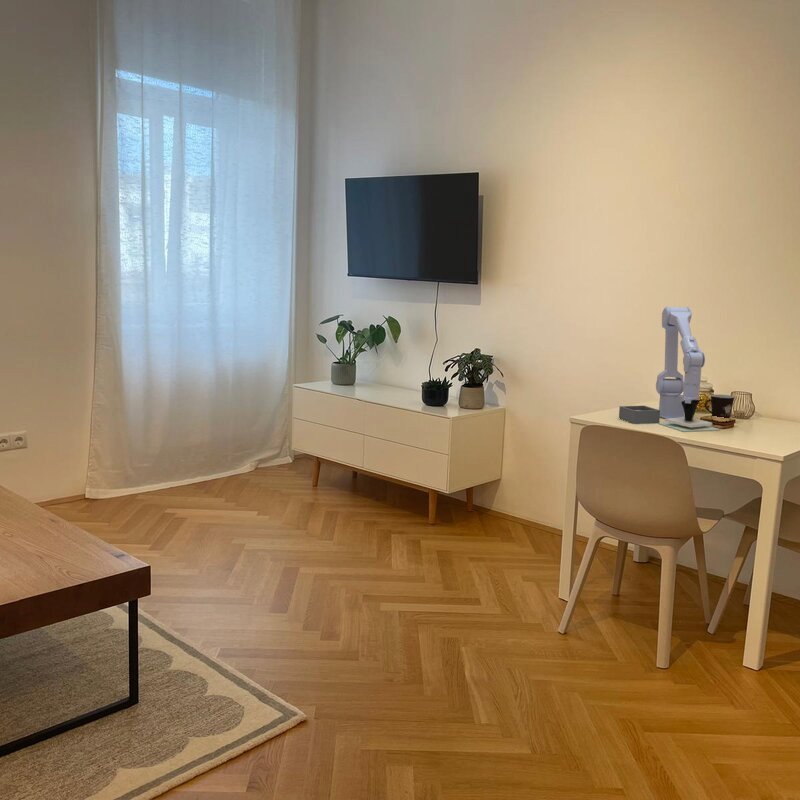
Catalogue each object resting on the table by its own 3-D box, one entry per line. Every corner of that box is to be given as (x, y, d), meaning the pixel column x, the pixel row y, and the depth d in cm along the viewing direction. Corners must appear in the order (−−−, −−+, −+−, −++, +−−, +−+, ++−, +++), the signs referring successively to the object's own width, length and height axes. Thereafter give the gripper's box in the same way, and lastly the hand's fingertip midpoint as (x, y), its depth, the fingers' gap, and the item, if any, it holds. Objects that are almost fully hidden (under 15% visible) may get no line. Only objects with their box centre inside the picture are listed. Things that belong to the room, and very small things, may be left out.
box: (643, 417, 333) (644, 405, 332) (659, 423, 322) (660, 410, 321) (618, 418, 330) (619, 406, 329) (634, 423, 319) (634, 411, 318)
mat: (693, 422, 325) (694, 421, 325) (720, 430, 310) (720, 429, 310) (658, 423, 320) (658, 422, 320) (683, 431, 305) (683, 430, 305)
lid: (685, 419, 323) (686, 410, 322) (712, 425, 313) (713, 416, 313) (664, 421, 317) (665, 412, 316) (691, 427, 307) (692, 418, 306)
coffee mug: (728, 419, 333) (730, 394, 331) (735, 423, 324) (737, 398, 322) (698, 418, 334) (700, 393, 332) (704, 422, 325) (706, 397, 324)
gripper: (683, 381, 321) (681, 415, 323) (677, 385, 308) (674, 421, 310) (703, 382, 317) (700, 417, 320) (697, 387, 305) (694, 423, 307)
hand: (689, 419), depth 315 cm, fingers closed on lid, 3 cm apart
